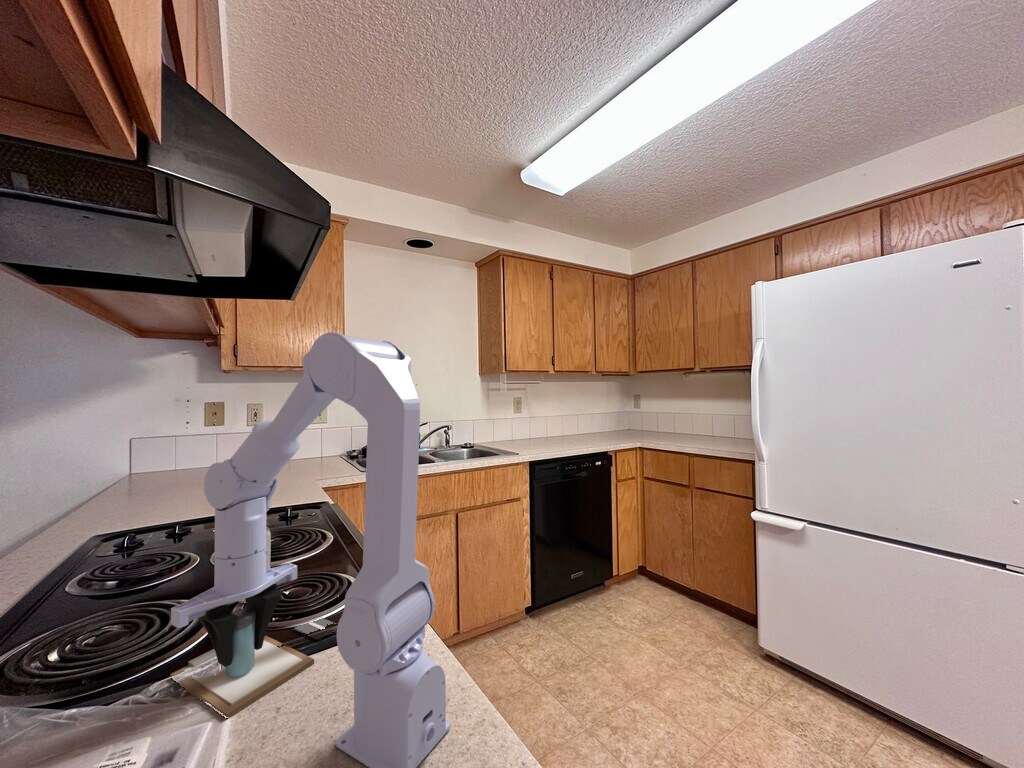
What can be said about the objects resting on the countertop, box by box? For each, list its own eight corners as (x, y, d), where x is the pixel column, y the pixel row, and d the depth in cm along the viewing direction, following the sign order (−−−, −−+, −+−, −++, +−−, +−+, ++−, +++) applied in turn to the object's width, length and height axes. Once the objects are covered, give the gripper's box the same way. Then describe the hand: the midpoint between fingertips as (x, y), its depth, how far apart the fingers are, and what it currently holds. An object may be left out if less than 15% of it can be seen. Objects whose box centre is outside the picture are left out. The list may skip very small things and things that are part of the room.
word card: (341, 628, 65) (341, 625, 65) (318, 641, 61) (318, 638, 61) (317, 618, 68) (317, 615, 68) (294, 630, 64) (294, 627, 64)
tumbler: (260, 665, 54) (261, 612, 54) (232, 680, 51) (233, 624, 52) (247, 656, 56) (247, 605, 56) (219, 671, 53) (219, 617, 53)
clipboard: (314, 663, 56) (314, 655, 56) (226, 719, 47) (226, 709, 47) (256, 635, 63) (256, 627, 63) (170, 678, 54) (170, 670, 54)
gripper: (277, 529, 62) (277, 619, 62) (159, 565, 50) (158, 678, 49) (306, 537, 59) (306, 632, 59) (187, 577, 46) (186, 699, 46)
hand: (240, 654), depth 54 cm, fingers closed on tumbler, 3 cm apart
